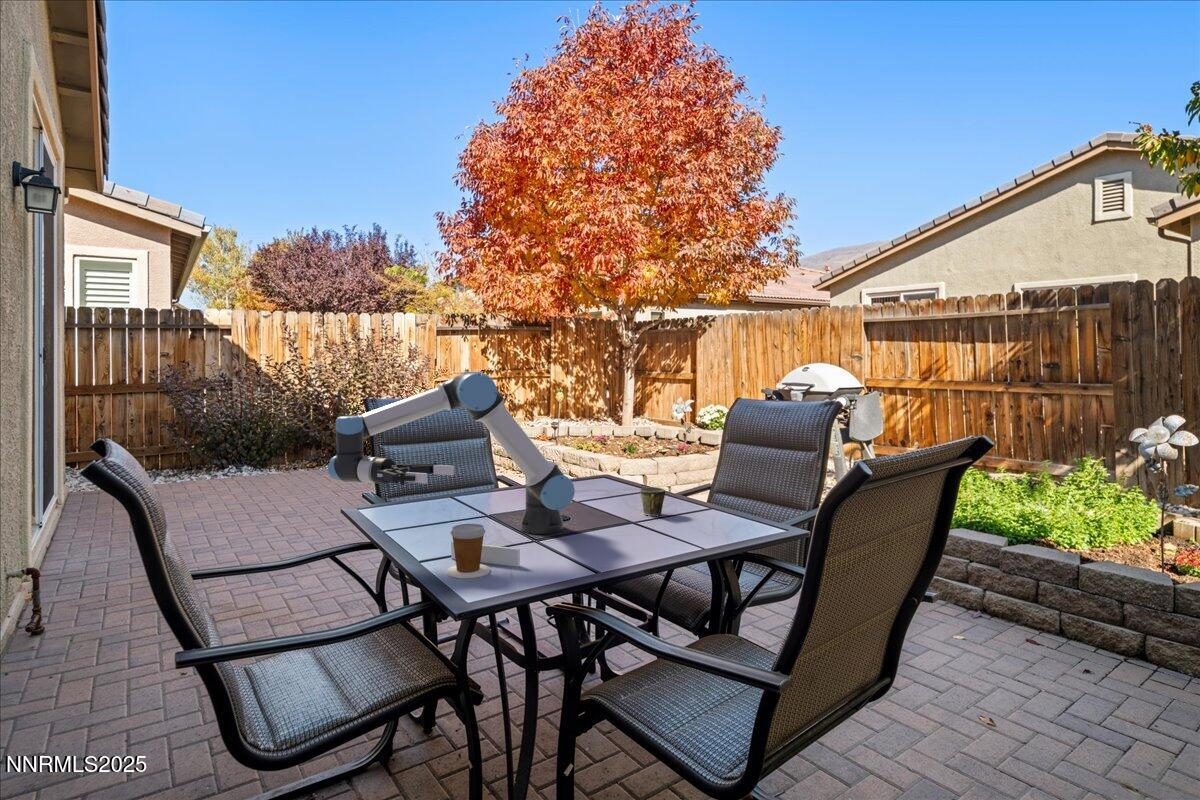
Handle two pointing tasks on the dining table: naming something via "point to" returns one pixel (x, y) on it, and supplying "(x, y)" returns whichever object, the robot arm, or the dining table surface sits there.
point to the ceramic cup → (652, 500)
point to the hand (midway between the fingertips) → (440, 474)
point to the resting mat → (481, 572)
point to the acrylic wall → (497, 555)
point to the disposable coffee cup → (468, 546)
